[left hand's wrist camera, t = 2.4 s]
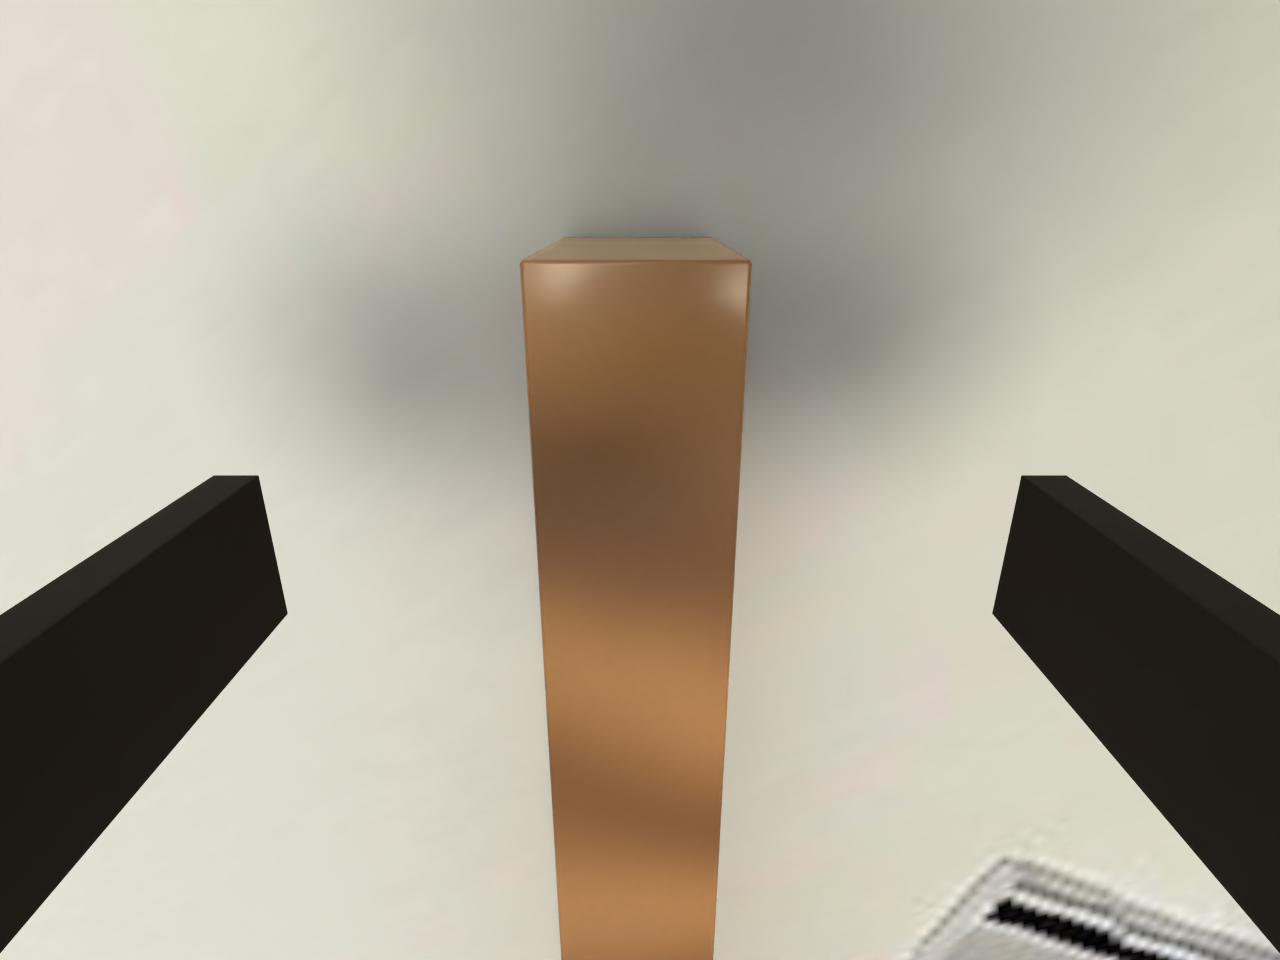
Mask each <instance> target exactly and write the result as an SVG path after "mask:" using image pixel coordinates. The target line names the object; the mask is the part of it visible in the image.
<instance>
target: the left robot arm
mask: <svg viewBox="0 0 1280 960" xmlns="http://www.w3.org/2000/svg"><path fill="white" fill-rule="evenodd" d="M287 614H288V613H287V608H286V604H285V599H284V594H283V590H282V585H281V580H280V575H279V571H278V566H277V561H276V556H275V552H274V547H273V542H272V538H271V533H270V528H269V523H268V519H267V514H266V509H265V504H264V500H263V495H262V490H261V486H260V481H259V476H212V477H211V478H209V479H208V480H206V481H205V482H203V483H202V484H200V485H199V486H197V487H196V488H194V489H193V490H191V491H190V492H188V493H186V494H185V495H183V496H182V497H180V498H179V499H177V500H176V501H174V502H173V503H171V504H170V505H168V506H167V507H165V508H164V509H162V510H160V511H159V512H157V513H156V514H154V515H153V516H151V517H150V518H148V519H147V520H145V521H144V522H142V523H141V524H139V525H138V526H136V527H134V528H133V529H131V530H130V531H128V532H127V533H125V534H124V535H122V536H121V537H119V538H118V539H116V540H115V541H113V542H112V543H110V544H108V545H107V546H105V547H104V548H102V549H101V550H99V551H98V552H96V553H95V554H93V555H92V556H90V557H89V558H87V559H85V560H84V561H82V562H81V563H79V564H78V565H76V566H75V567H73V568H72V569H70V570H69V571H67V572H66V573H64V574H63V575H61V576H59V577H58V578H56V579H55V580H53V581H52V582H50V583H49V584H47V585H46V586H44V587H43V588H41V589H40V590H38V591H37V592H35V593H33V594H32V595H30V596H29V597H27V598H26V599H24V600H23V601H21V602H20V603H18V604H17V605H15V606H14V607H12V608H11V609H9V610H7V611H6V612H4V613H3V614H1V615H0V953H1V952H2V950H3V949H4V948H5V947H6V946H7V945H8V943H9V942H10V941H11V940H12V939H13V937H14V936H15V935H16V934H17V933H18V932H19V930H20V929H21V928H22V927H23V926H24V924H25V923H26V922H27V921H28V920H29V919H30V917H31V916H32V915H33V914H34V913H35V911H36V910H37V909H38V908H39V907H40V906H41V904H42V903H43V902H44V901H45V900H46V898H47V897H48V896H49V895H50V894H51V893H52V891H53V890H54V889H55V888H56V887H57V885H58V884H59V883H60V882H61V881H62V880H63V878H64V877H65V876H66V875H67V874H68V872H69V871H70V870H71V869H72V868H73V867H74V865H75V864H76V863H77V862H78V861H79V859H80V858H81V857H82V856H83V855H84V854H85V852H86V851H87V850H88V849H89V848H90V846H91V845H92V844H93V843H94V842H95V841H96V839H97V838H98V837H99V836H100V835H101V833H102V832H103V831H104V830H105V829H106V828H107V826H108V825H109V824H110V823H111V822H112V820H113V819H114V818H115V817H116V816H117V815H118V813H119V812H120V811H121V810H122V809H123V807H124V806H125V805H126V804H127V803H128V802H129V800H130V799H131V798H132V797H133V796H134V794H135V793H136V792H137V791H138V790H139V789H140V787H141V786H142V785H143V784H144V783H145V781H146V780H147V779H148V778H149V777H150V776H151V774H152V773H153V772H154V771H155V770H156V768H157V767H158V766H159V765H160V764H161V763H162V761H163V760H164V759H165V758H166V757H167V755H168V754H169V753H170V752H171V751H172V750H173V748H174V747H175V746H176V745H177V744H178V742H179V741H180V740H181V739H182V738H183V737H184V735H185V734H186V733H187V732H188V731H189V729H190V728H191V727H192V726H193V725H194V724H195V722H196V721H197V720H198V719H199V718H200V716H201V715H202V714H203V713H204V712H205V711H206V709H207V708H208V707H209V706H210V705H211V703H212V702H213V701H214V700H215V699H216V698H217V696H218V695H219V694H220V693H221V692H222V690H223V689H224V688H225V687H226V686H227V685H228V683H229V682H230V681H231V680H232V679H233V677H234V676H235V675H236V674H237V673H238V672H239V670H240V669H241V668H242V667H243V666H244V664H245V663H246V662H247V661H248V660H249V659H250V657H251V656H252V655H253V654H254V653H255V651H256V650H257V649H258V648H259V647H260V646H261V644H262V643H263V642H264V641H265V640H266V638H267V637H268V636H269V635H270V634H271V633H272V631H273V630H274V629H275V628H276V627H277V625H278V624H279V623H280V622H281V621H282V620H283V618H284V617H285V616H286V615H287ZM992 614H993V615H994V616H995V617H996V618H997V620H998V621H999V622H1000V623H1001V624H1002V625H1003V627H1004V628H1005V629H1006V630H1007V631H1008V633H1009V634H1010V635H1011V636H1012V637H1013V638H1014V640H1015V641H1016V642H1017V643H1018V644H1019V646H1020V647H1021V648H1022V649H1023V650H1024V651H1025V653H1026V654H1027V655H1028V656H1029V657H1030V659H1031V660H1032V661H1033V662H1034V663H1035V664H1036V666H1037V667H1038V668H1039V669H1040V670H1041V672H1042V673H1043V674H1044V675H1045V676H1046V677H1047V679H1048V680H1049V681H1050V682H1051V683H1052V685H1053V686H1054V687H1055V688H1056V689H1057V690H1058V692H1059V693H1060V694H1061V695H1062V696H1063V698H1064V699H1065V700H1066V701H1067V702H1068V703H1069V705H1070V706H1071V707H1072V708H1073V709H1074V711H1075V712H1076V713H1077V714H1078V715H1079V716H1080V718H1081V719H1082V720H1083V721H1084V722H1085V724H1086V725H1087V726H1088V727H1089V728H1090V729H1091V731H1092V732H1093V733H1094V734H1095V735H1096V737H1097V738H1098V739H1099V740H1100V741H1101V742H1102V744H1103V745H1104V746H1105V747H1106V748H1107V750H1108V751H1109V752H1110V753H1111V754H1112V755H1113V757H1114V758H1115V759H1116V760H1117V761H1118V763H1119V764H1120V765H1121V766H1122V767H1123V768H1124V770H1125V771H1126V772H1127V773H1128V774H1129V776H1130V777H1131V778H1132V779H1133V780H1134V781H1135V783H1136V784H1137V785H1138V786H1139V787H1140V789H1141V790H1142V791H1143V792H1144V793H1145V794H1146V796H1147V797H1148V798H1149V799H1150V800H1151V802H1152V803H1153V804H1154V805H1155V806H1156V807H1157V809H1158V810H1159V811H1160V812H1161V813H1162V815H1163V816H1164V817H1165V818H1166V819H1167V820H1168V822H1169V823H1170V824H1171V825H1172V826H1173V828H1174V829H1175V830H1176V831H1177V832H1178V833H1179V835H1180V836H1181V837H1182V838H1183V839H1184V841H1185V842H1186V843H1187V844H1188V845H1189V846H1190V848H1191V849H1192V850H1193V851H1194V852H1195V854H1196V855H1197V856H1198V857H1199V858H1200V859H1201V861H1202V862H1203V863H1204V864H1205V865H1206V867H1207V868H1208V869H1209V870H1210V871H1211V872H1212V874H1213V875H1214V876H1215V877H1216V878H1217V880H1218V881H1219V882H1220V883H1221V884H1222V885H1223V887H1224V888H1225V889H1226V890H1227V891H1228V893H1229V894H1230V895H1231V896H1232V897H1233V898H1234V900H1235V901H1236V902H1237V903H1238V904H1239V906H1240V907H1241V908H1242V909H1243V910H1244V911H1245V913H1246V914H1247V915H1248V916H1249V917H1250V919H1251V920H1252V921H1253V922H1254V923H1255V924H1256V926H1257V927H1258V928H1259V929H1260V930H1261V932H1262V933H1263V934H1264V935H1265V936H1266V937H1267V939H1268V940H1269V941H1270V942H1271V943H1272V945H1273V946H1274V947H1275V948H1276V949H1277V950H1278V952H1279V953H1280V615H1279V614H1277V613H1276V612H1274V611H1273V610H1271V609H1269V608H1268V607H1266V606H1265V605H1263V604H1262V603H1260V602H1259V601H1257V600H1256V599H1254V598H1253V597H1251V596H1250V595H1248V594H1247V593H1245V592H1243V591H1242V590H1240V589H1239V588H1237V587H1236V586H1234V585H1233V584H1231V583H1230V582H1228V581H1227V580H1225V579H1224V578H1222V577H1221V576H1219V575H1217V574H1216V573H1214V572H1213V571H1211V570H1210V569H1208V568H1207V567H1205V566H1204V565H1202V564H1201V563H1199V562H1198V561H1196V560H1195V559H1193V558H1191V557H1190V556H1188V555H1187V554H1185V553H1184V552H1182V551H1181V550H1179V549H1178V548H1176V547H1175V546H1173V545H1172V544H1170V543H1168V542H1167V541H1165V540H1164V539H1162V538H1161V537H1159V536H1158V535H1156V534H1155V533H1153V532H1152V531H1150V530H1149V529H1147V528H1146V527H1144V526H1142V525H1141V524H1139V523H1138V522H1136V521H1135V520H1133V519H1132V518H1130V517H1129V516H1127V515H1126V514H1124V513H1123V512H1121V511H1120V510H1118V509H1116V508H1115V507H1113V506H1112V505H1110V504H1109V503H1107V502H1106V501H1104V500H1103V499H1101V498H1100V497H1098V496H1097V495H1095V494H1094V493H1092V492H1090V491H1089V490H1087V489H1086V488H1084V487H1083V486H1081V485H1080V484H1078V483H1077V482H1075V481H1074V480H1072V479H1071V478H1069V477H1068V476H1021V481H1020V486H1019V490H1018V495H1017V500H1016V504H1015V509H1014V514H1013V519H1012V523H1011V528H1010V533H1009V538H1008V542H1007V547H1006V552H1005V556H1004V561H1003V566H1002V571H1001V575H1000V580H999V585H998V590H997V594H996V599H995V604H994V608H993V613H992Z"/></svg>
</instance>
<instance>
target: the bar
mask: <svg viewBox="0 0 1280 960" xmlns="http://www.w3.org/2000/svg"><path fill="white" fill-rule="evenodd" d="M751 265H752V264H751V261H750V260H748V259H747V258H745V257H743V256H741V255H740V254H738V253H736V252H734V251H733V250H731V249H729V248H728V247H726V246H724V245H722V244H721V243H719V242H717V241H715V240H714V239H712V238H563V239H561V240H559V241H557V242H555V243H553V244H551V245H550V246H548V247H546V248H544V249H542V250H540V251H538V252H536V253H535V254H533V255H531V256H529V257H527V258H525V259H523V260H521V262H520V272H521V289H522V306H523V323H524V340H525V356H526V373H527V390H528V407H529V424H530V440H531V457H532V474H533V491H534V508H535V524H536V541H537V558H538V575H539V591H540V608H541V625H542V642H543V659H544V675H545V692H546V709H547V726H548V743H549V759H550V776H551V793H552V810H553V827H554V843H555V860H556V877H557V894H558V911H559V927H560V944H561V960H713V951H714V933H715V915H716V897H717V879H718V861H719V843H720V825H721V807H722V789H723V771H724V753H725V734H726V716H727V698H728V680H729V662H730V644H731V626H732V608H733V590H734V572H735V554H736V536H737V518H738V500H739V481H740V463H741V445H742V427H743V409H744V391H745V373H746V355H747V337H748V319H749V301H750V283H751Z"/></svg>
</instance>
